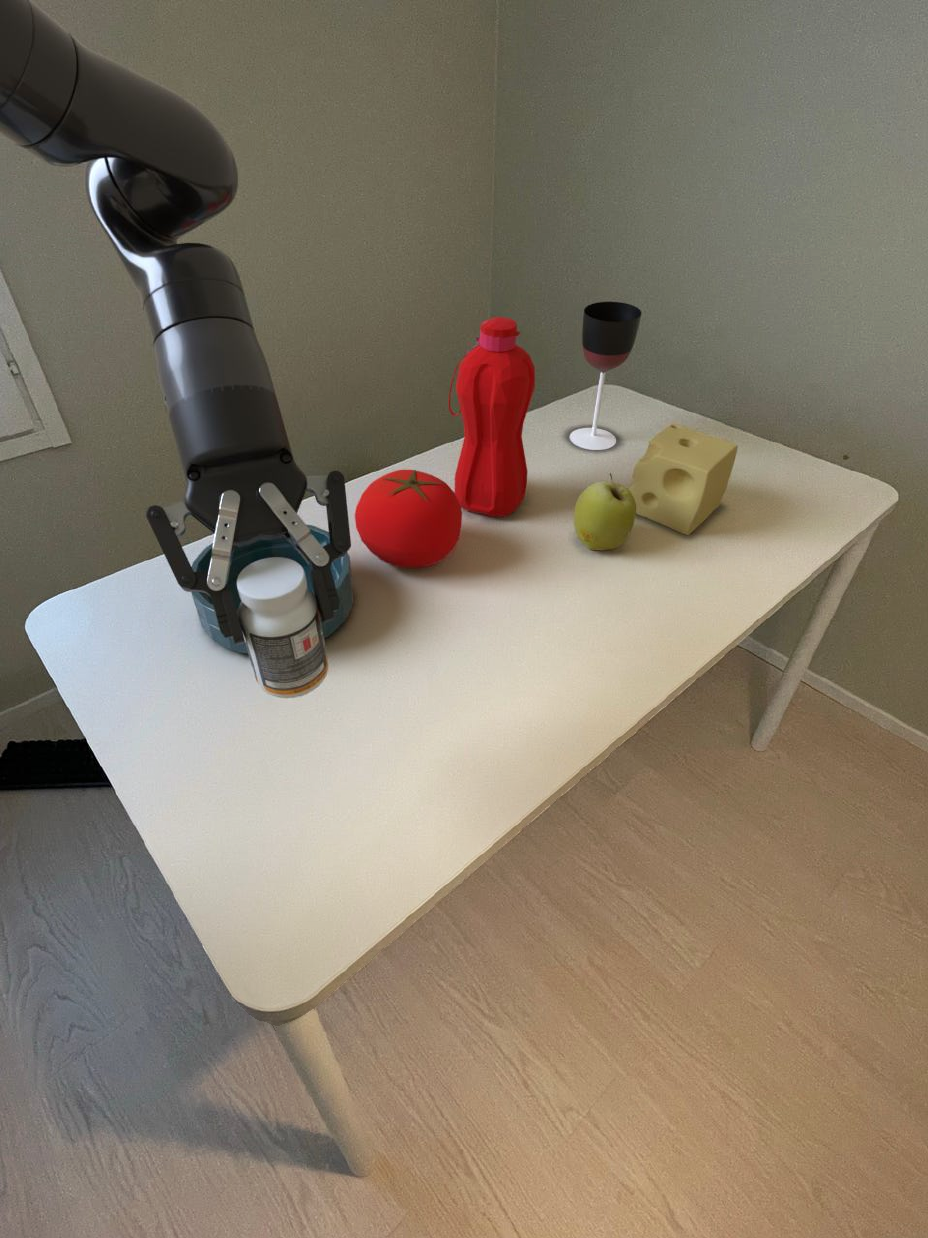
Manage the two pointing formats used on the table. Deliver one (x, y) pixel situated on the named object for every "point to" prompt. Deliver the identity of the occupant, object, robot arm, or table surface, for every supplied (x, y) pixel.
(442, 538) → the tomato
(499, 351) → the water bottle
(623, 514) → the apple
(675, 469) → the cheese
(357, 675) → the table surface
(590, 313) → the wineglass
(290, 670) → the pill bottle
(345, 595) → the bowl
